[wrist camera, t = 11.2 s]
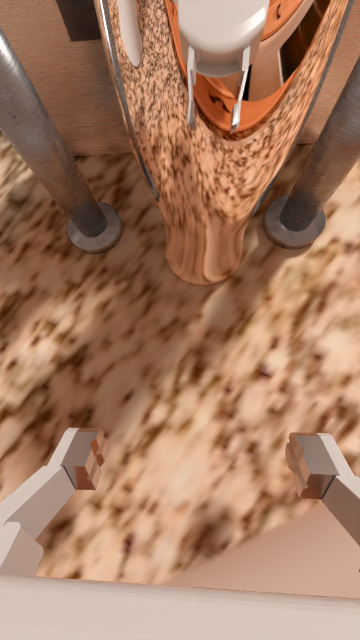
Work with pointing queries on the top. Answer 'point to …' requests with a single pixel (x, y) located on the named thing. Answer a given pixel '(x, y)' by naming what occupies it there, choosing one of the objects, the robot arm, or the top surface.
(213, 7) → the beer glass
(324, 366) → the top surface
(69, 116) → the panel
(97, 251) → the post left
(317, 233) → the post right
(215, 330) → the top surface
